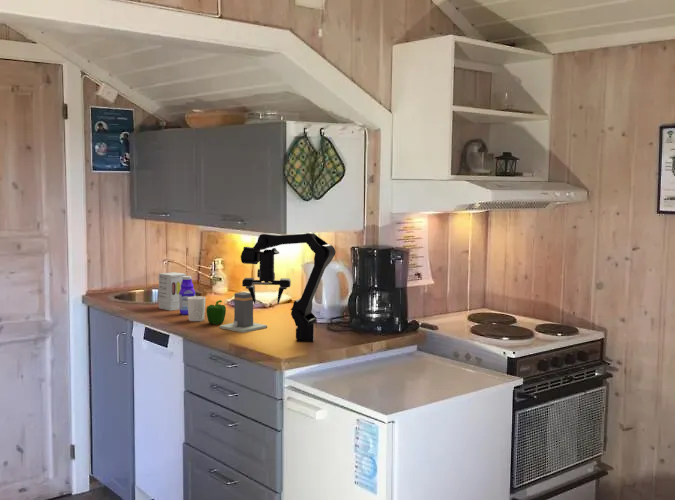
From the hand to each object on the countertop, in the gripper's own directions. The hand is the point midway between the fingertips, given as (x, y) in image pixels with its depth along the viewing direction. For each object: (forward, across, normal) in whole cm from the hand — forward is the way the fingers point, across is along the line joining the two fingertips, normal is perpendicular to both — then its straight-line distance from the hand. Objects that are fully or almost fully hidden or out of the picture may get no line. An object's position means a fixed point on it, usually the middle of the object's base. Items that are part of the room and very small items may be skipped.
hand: (266, 304), depth 295 cm
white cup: (+13, +34, -30) cm, 47 cm away
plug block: (+12, +11, -15) cm, 22 cm away
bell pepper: (+13, +24, -23) cm, 36 cm away
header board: (+13, +11, -15) cm, 23 cm away
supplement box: (+13, +51, -57) cm, 78 cm away
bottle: (+13, +41, -44) cm, 62 cm away
